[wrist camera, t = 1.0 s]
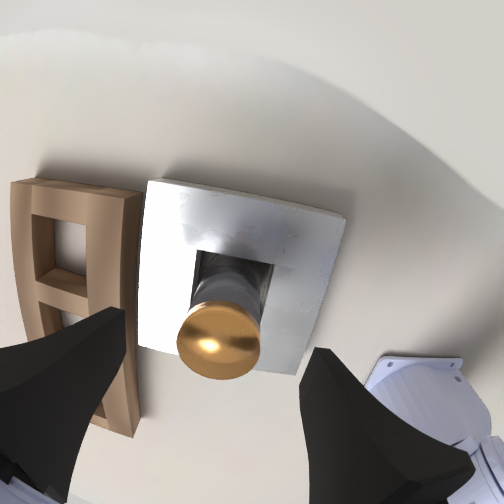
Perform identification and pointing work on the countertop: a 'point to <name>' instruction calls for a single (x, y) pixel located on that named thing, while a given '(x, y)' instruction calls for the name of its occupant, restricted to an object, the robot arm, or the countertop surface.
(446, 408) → the robot arm
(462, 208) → the countertop surface
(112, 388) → the rack
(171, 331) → the socket block
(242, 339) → the steel peg
